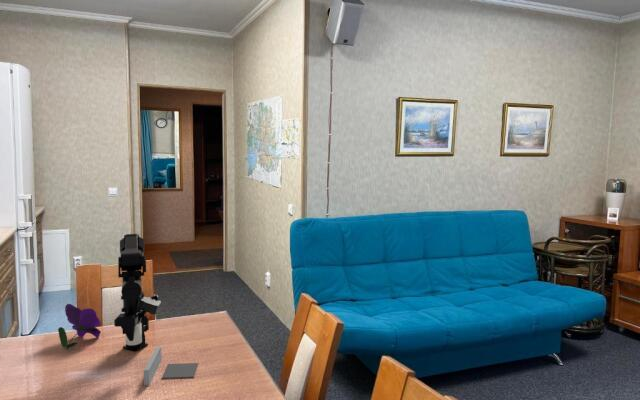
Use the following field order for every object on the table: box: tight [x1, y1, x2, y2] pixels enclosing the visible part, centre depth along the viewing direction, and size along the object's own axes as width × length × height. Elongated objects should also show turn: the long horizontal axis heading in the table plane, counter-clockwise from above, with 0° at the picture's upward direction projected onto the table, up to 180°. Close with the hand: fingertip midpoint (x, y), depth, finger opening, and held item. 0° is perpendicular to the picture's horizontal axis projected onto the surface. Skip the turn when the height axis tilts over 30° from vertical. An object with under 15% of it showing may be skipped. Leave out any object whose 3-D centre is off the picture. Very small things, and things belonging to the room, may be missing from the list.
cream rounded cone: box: [124, 322, 142, 345], centre depth 161 cm, size 5×5×6 cm
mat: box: [161, 362, 199, 380], centre depth 164 cm, size 10×10×1 cm
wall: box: [143, 346, 162, 386], centre depth 163 cm, size 18×2×5 cm, turn 6°
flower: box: [57, 303, 102, 349], centre depth 185 cm, size 15×15×14 cm
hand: (133, 337), depth 161 cm, fingers closed on cream rounded cone, 5 cm apart
